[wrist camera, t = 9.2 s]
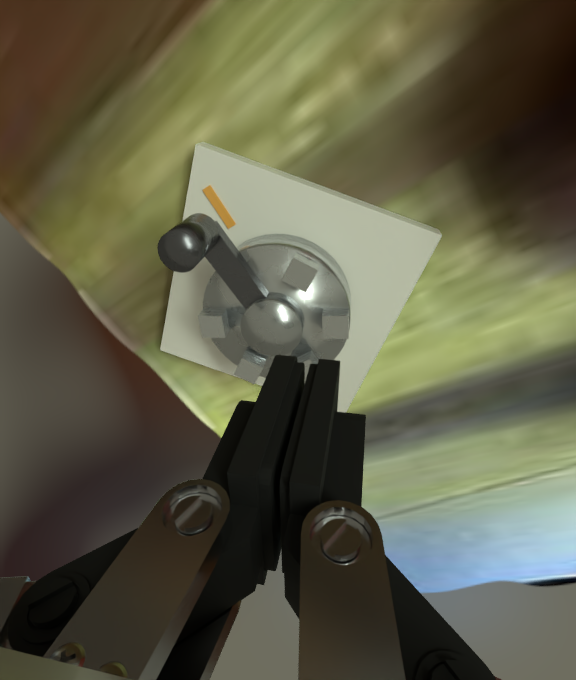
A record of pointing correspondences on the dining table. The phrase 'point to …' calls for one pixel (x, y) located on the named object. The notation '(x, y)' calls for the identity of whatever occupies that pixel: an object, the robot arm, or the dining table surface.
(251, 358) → the silver lever knob
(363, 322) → the base plate
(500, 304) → the dining table surface
